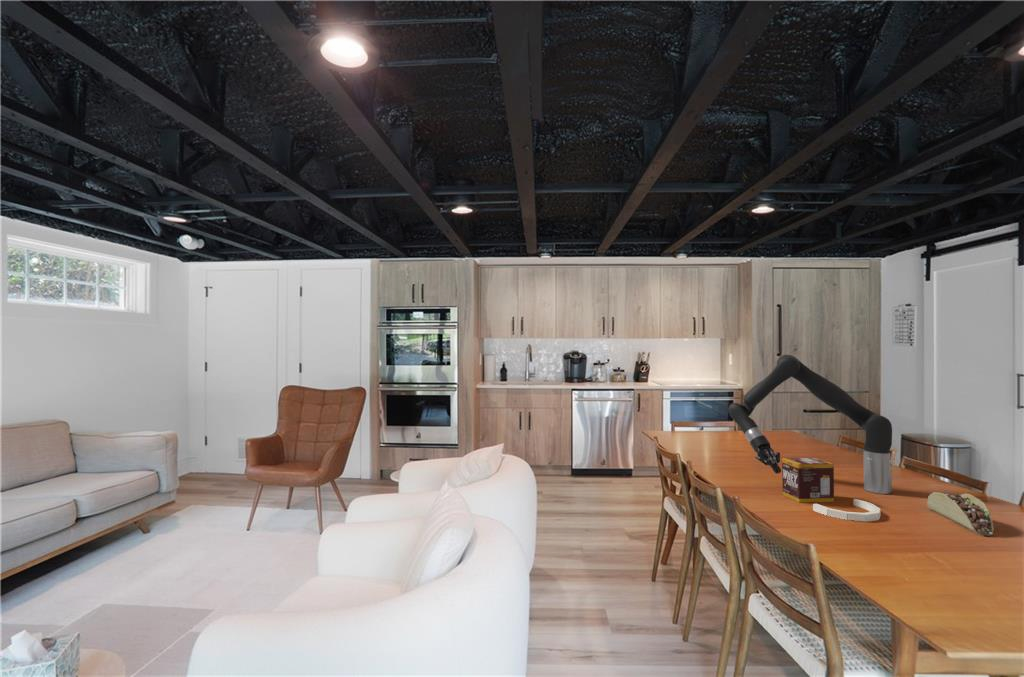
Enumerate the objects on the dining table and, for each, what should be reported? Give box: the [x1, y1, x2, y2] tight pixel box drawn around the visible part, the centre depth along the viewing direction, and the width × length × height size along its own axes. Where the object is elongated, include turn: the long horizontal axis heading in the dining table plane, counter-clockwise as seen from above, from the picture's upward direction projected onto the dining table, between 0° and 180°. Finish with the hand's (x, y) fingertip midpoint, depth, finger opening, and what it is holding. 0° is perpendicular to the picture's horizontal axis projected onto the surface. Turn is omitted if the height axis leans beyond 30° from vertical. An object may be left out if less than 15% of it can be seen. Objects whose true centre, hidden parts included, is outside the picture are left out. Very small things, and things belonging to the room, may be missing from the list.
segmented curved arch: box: [812, 498, 882, 523], centre depth 175 cm, size 23×14×2 cm, turn 107°
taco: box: [926, 491, 995, 537], centre depth 168 cm, size 10×27×10 cm, turn 167°
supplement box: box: [781, 457, 835, 503], centre depth 194 cm, size 10×15×16 cm
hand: (778, 472), depth 207 cm, fingers closed
